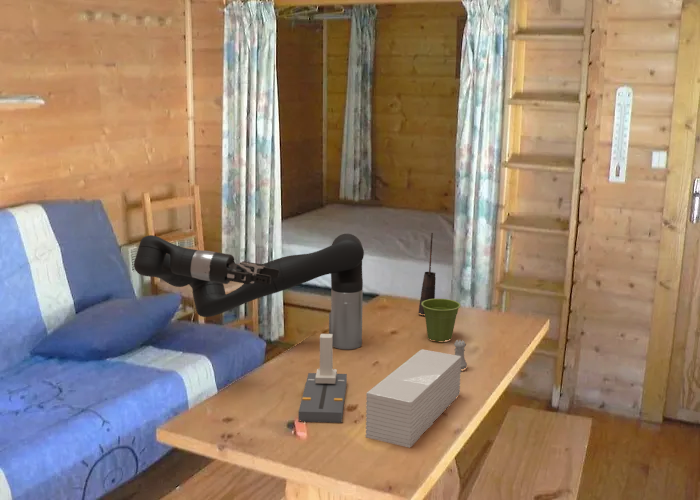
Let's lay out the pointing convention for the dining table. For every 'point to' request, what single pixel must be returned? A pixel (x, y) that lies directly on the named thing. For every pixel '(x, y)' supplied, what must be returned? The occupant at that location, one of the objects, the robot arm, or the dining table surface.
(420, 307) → the butter churn
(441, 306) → the plant pot
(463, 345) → the rook chess piece
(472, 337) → the dining table surface
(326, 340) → the fader tab
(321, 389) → the fader console
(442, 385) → the stack of papers
